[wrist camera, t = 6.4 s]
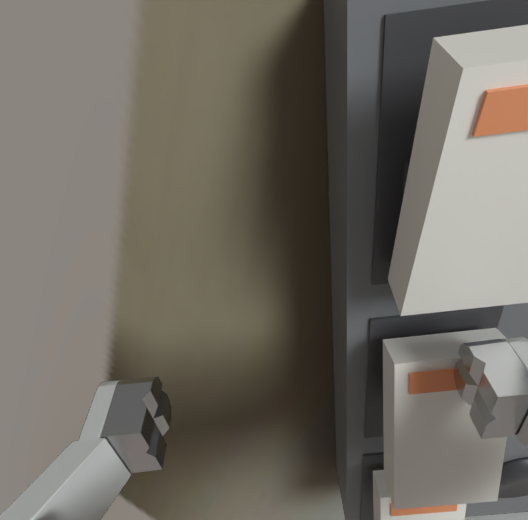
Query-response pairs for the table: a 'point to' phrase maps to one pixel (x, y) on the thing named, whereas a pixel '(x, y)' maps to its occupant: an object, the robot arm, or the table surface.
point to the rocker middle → (434, 426)
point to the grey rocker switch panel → (389, 219)
